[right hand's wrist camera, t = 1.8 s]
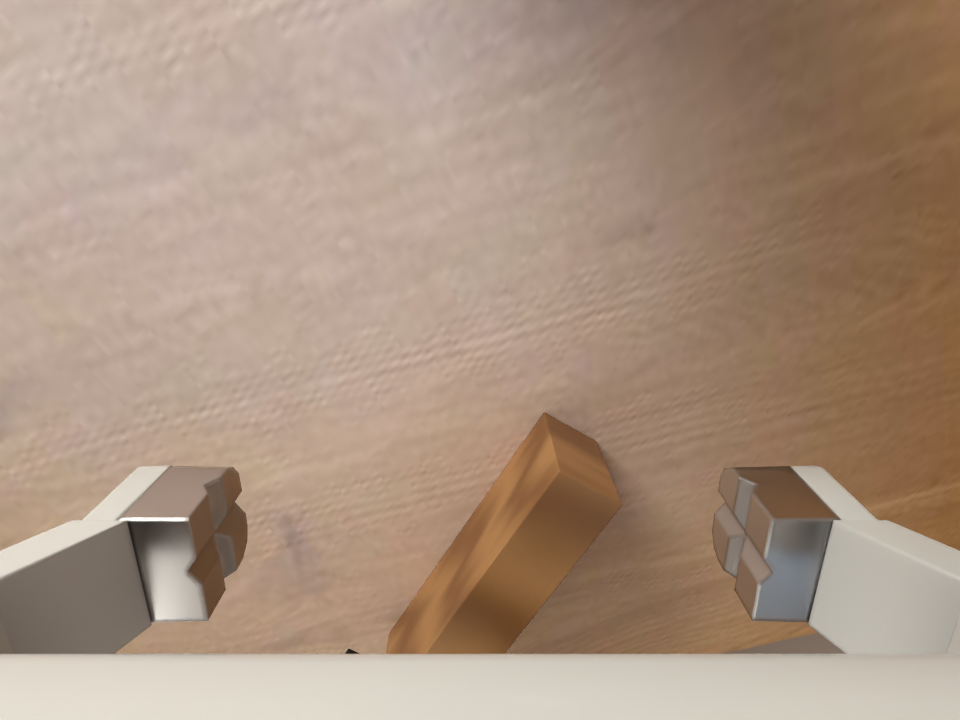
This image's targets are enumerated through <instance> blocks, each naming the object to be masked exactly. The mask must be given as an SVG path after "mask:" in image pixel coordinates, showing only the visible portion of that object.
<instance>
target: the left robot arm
mask: <svg viewBox="0 0 960 720" xmlns="http://www.w3.org/2000/svg"><path fill="white" fill-rule="evenodd" d="M345 654H359V653H357V652H355V651H353V650H351V649H348V650H347V652H346V653H345Z"/></svg>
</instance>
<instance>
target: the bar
mask: <svg viewBox="0 0 960 720" xmlns="http://www.w3.org/2000/svg"><path fill="white" fill-rule="evenodd" d="M621 506H622V503H621V500H620V498H619V495H618V493H617V490H616V488H615V486H614V483H613V481H612V478H611V476H610V473H609V471H608V469H607V466H606V464H605V461H604V459H603V456H602V454H601V451H600V449H599V447H598V444H597V442H596V441H595V440H593V439H591V438H589V437H587V436H586V435H584V434H582V433H580V432H578V431H577V430H575V429H573V428H571V427H569V426H568V425H566V424H564V423H562V422H560V421H559V420H557V419H555V418H553V417H551V416H550V415H548V414H546V413H543V415H542V416H541V418H540V419H539V420H538V422H537V423H536V425H535V426H534V428H533V429H532V430H531V432H530V433H529V435H528V436H527V438H526V439H525V440H524V442H523V443H522V445H521V446H520V448H519V449H518V450H517V452H516V453H515V455H514V456H513V458H512V459H511V460H510V462H509V463H508V465H507V466H506V468H505V469H504V470H503V472H502V473H501V475H500V476H499V478H498V479H497V480H496V482H495V483H494V485H493V486H492V488H491V489H490V490H489V492H488V493H487V495H486V496H485V498H484V499H483V500H482V502H481V503H480V505H479V506H478V508H477V509H476V510H475V512H474V513H473V515H472V516H471V518H470V519H469V520H468V522H467V523H466V525H465V526H464V528H463V529H462V530H461V532H460V533H459V535H458V536H457V538H456V539H455V540H454V542H453V543H452V545H451V546H450V547H449V549H448V550H447V552H446V553H445V555H444V556H443V557H442V559H441V560H440V562H439V563H438V565H437V566H436V567H435V569H434V570H433V572H432V573H431V575H430V576H429V577H428V579H427V580H426V582H425V583H424V585H423V586H422V587H421V589H420V590H419V592H418V593H417V595H416V596H415V597H414V599H413V600H412V602H411V603H410V605H409V606H408V607H407V609H406V610H405V612H404V613H403V615H402V616H401V617H400V619H399V620H398V622H397V623H396V625H395V626H394V627H393V629H392V630H391V632H390V633H389V638H388V644H387V650H386V654H504V653H505V652H506V651H507V650H508V648H509V647H510V646H511V645H512V643H513V642H514V641H515V640H516V638H517V637H518V636H519V635H520V633H521V632H522V631H523V630H524V628H525V627H526V626H527V624H528V623H529V622H530V621H531V619H532V618H533V617H534V616H535V614H536V613H537V612H538V611H539V609H540V608H541V607H542V606H543V604H544V603H545V602H546V601H547V599H548V598H549V597H550V595H551V594H552V593H553V592H554V590H555V589H556V588H557V587H558V585H559V584H560V583H561V582H562V580H563V579H564V578H565V577H566V575H567V574H568V573H569V572H570V570H571V569H572V568H573V567H574V565H575V564H576V563H577V561H578V560H579V559H580V558H581V556H582V555H583V554H584V553H585V551H586V550H587V549H588V548H589V546H590V545H591V544H592V543H593V541H594V540H595V539H596V538H597V536H598V535H599V534H600V532H601V531H602V530H603V529H604V527H605V526H606V525H607V524H608V522H609V521H610V520H611V519H612V517H613V516H614V515H615V514H616V512H617V511H618V510H619V509H620V507H621Z"/></svg>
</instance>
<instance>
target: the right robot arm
mask: <svg viewBox="0 0 960 720" xmlns="http://www.w3.org/2000/svg"><path fill="white" fill-rule="evenodd" d="M241 491H242V488H241V483H240V478H239V473H238V472H237V471H236V470H235V469H234V468H233V467H201V466H174V467H173V466H171V465H168V466H143V467H138V468H137V469H136V470H134V471H133V472H132V473H131V474H130V475H129V476H128V477H127V478H126V479H125V480H124V481H123V482H122V483H121V484H120V485H119V486H118V487H117V488H116V489H114V490H113V491H112V492H111V493H110V494H109V495H108V496H107V497H106V498H105V499H104V500H103V501H102V502H101V503H100V504H99V505H98V506H97V507H96V508H94V509H93V510H92V511H91V512H90V513H89V514H88V515H87V516H86V517H85V518H84V519H83V520H72V521H69V522H67V523H65V524H62V525H60V526H57V527H55V528H53V529H50V530H48V531H46V532H43V533H41V534H39V535H36V536H34V537H32V538H29V539H27V540H24V541H22V542H20V543H17V544H15V545H13V546H10V547H8V548H6V549H3V550H1V551H0V720H960V551H959V550H957V549H954V548H952V547H950V546H947V545H945V544H943V543H940V542H938V541H935V540H933V539H931V538H928V537H926V536H924V535H921V534H919V533H917V532H914V531H912V530H910V529H907V528H905V527H903V526H900V525H898V524H895V523H893V522H891V521H888V520H877V519H876V518H875V517H874V516H873V515H872V514H871V513H870V512H869V511H868V510H867V509H866V508H865V507H864V506H862V505H861V504H860V503H859V502H858V501H857V500H856V499H855V498H854V497H853V496H852V495H851V494H850V493H849V492H848V491H847V490H846V489H845V488H844V487H843V486H841V485H840V484H839V483H838V482H837V481H836V480H835V479H834V478H833V477H832V476H831V475H830V474H829V473H828V472H827V471H826V470H825V469H824V468H822V467H819V466H816V465H809V466H775V467H734V468H724V470H723V472H722V475H721V477H720V482H719V488H718V491H719V493H720V494H721V496H722V497H723V499H724V500H725V503H724V504H723V505H722V506H721V507H720V508H719V509H718V510H717V511H716V512H715V513H714V521H713V529H712V533H713V543H714V549H715V552H716V556H717V559H718V561H719V563H720V565H721V566H722V568H723V570H724V571H726V572H727V573H729V574H730V575H732V576H733V577H735V578H736V583H735V589H734V590H735V591H736V593H737V595H738V597H739V598H740V600H741V602H742V604H743V605H744V607H745V609H746V611H747V612H748V614H749V616H750V618H751V619H752V621H784V622H809V623H808V625H809V626H811V627H812V628H813V629H815V630H816V631H817V632H819V633H820V634H821V635H822V636H824V637H825V638H826V639H828V640H829V641H830V642H832V643H833V644H834V645H836V646H837V647H838V648H839V649H841V650H842V651H843V652H845V653H846V654H114V653H116V652H117V651H118V650H120V649H121V648H122V647H123V646H125V645H126V644H127V643H129V642H130V641H131V640H133V639H134V638H135V637H137V636H138V635H139V634H140V633H142V632H143V631H144V630H146V629H147V628H148V627H150V626H151V622H175V621H208V620H209V618H210V616H211V614H212V613H213V611H214V609H215V607H216V606H217V604H218V602H219V600H220V599H221V597H222V595H223V593H224V591H225V590H226V589H225V583H224V578H225V577H227V576H228V575H230V574H231V573H233V572H234V571H236V570H237V568H238V566H239V565H240V563H241V561H242V559H243V556H244V552H245V548H246V544H247V519H246V513H245V512H244V511H243V510H242V509H241V508H240V507H239V506H238V505H237V504H236V503H235V500H236V499H237V497H238V496H239V494H240V493H241Z"/></svg>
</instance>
